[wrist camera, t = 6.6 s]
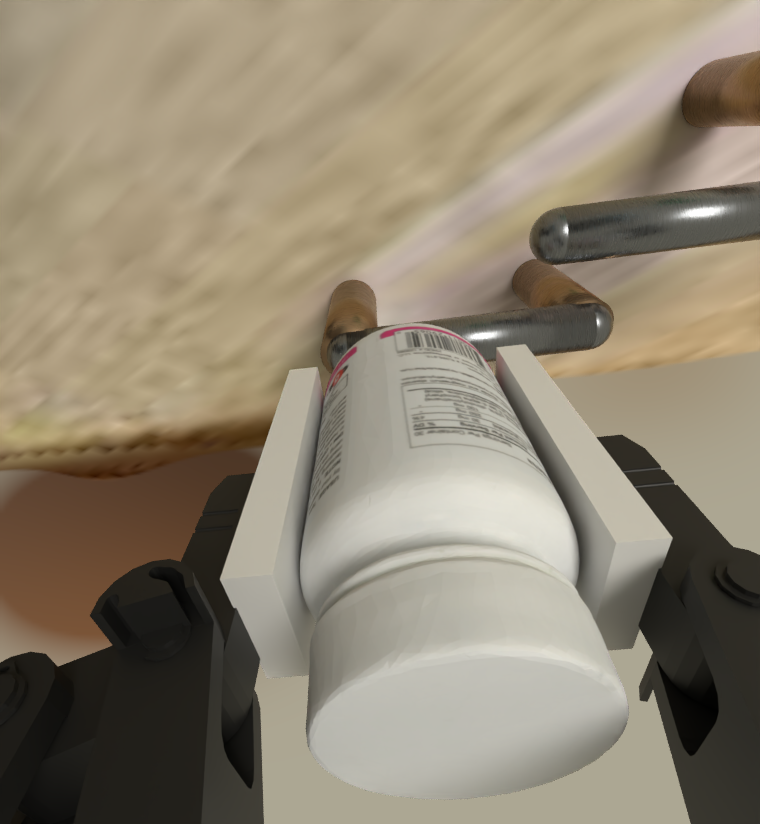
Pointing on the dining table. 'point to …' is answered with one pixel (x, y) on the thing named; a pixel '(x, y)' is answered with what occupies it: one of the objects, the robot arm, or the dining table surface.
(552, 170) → the dining table surface
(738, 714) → the robot arm
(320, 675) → the pill bottle
